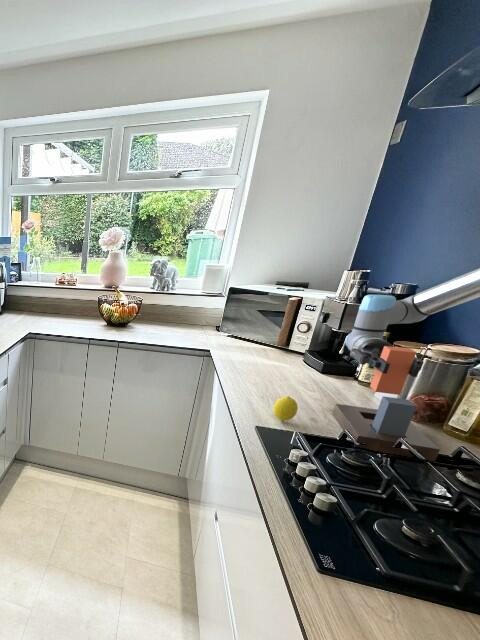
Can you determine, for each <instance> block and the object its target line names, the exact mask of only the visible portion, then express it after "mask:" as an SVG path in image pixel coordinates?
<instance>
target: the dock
mask: <svg viewBox="0 0 480 640" xmlns="http://www.w3.org/2000/svg"><path fill="white" fill-rule="evenodd" d="M377 411H378V408H377V409H375V408H371V407H370V408H369V407H364V406H363V407H362V406H356V405H355V406H354V405H347V404H342V403H334V407H333V409H332V413H331V415H332V416H333V417H334V419H335V421H336V422H337V424H338V425H339V426H340V428H341V430H342V431H343V430H348V431H349V432H350V434H352V436H353V437H354V439H355V440H356V442H357V443H365V444H367V445H355V444H354V446H353V448H354V447H360V448H366V449H369V450H368V451H371V450H373V451H372V452H377V451H378V452H377V453H382V452H383V453H382V454H388V453H389V454H388V455H393V454H395V455H394V456H399V455H401V456H400V457H404V456H407V457H406V458H410V457H413V455H412V454H411V453H410V452H409V451H408V450H407V449H402V448H395V447H393V446H394V445H395V443H396V442H397V440H398V439H399V438H401V437H399V436H393V435H387V434H381V433H376V432H375V431H374V429H373V428H372V424H373V422H374V419H375V416H376V413H377ZM402 438H403V439H404V440H405V441H407V442H408V443H409V444H410V445H411V446H412V447H413V448H414V449H416V450H417V452H418V453H420V454H421V455H422V456H423V457H425V458H426V459H427V460H429V461H428V462H433V463H435V462H436V460H437V458H438V456H439V453H440V451H441V449H440V448H439V446H437V445H436V444H435V443H434V442H433V441H432V440H431V439H430V438H429V437H428V436H426V434H424V433H423V431H421V430H420V429H419V428H418V427H417V425H415V424H414V423H413V421H410V424H409V426H408V429H407V431H406V434H405V436H404V437H402ZM360 448H359V449H360Z"/></svg>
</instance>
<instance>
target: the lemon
mask: <svg viewBox="0 0 480 640" xmlns="http://www.w3.org/2000/svg"><path fill="white" fill-rule="evenodd" d="M272 408H273V409H272V412H273V415H274V416H275V418H277V419H278V420H279V421H280V422H285V421H289V420H292V419H293V418H294V417H295V416H296V415H297V413H298V403H297V401H296V400H295V399H294V398H292V397H291V396H289V395H287V396H283V397H280V398H278V399H277V400H276V401H275V403H274V405H273V407H272Z"/></svg>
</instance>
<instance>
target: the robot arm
mask: <svg viewBox="0 0 480 640" xmlns="http://www.w3.org/2000/svg"><path fill="white" fill-rule="evenodd" d="M478 298H480V267H479V268H476V269H474V270H471V271H469V272H466V273H464V274H461V275H459V276H457V277H454V278H452V279H449V280H447V281H445V282H443V283H440V284H437V285H435V286H433V287H430V288H428V289H425V290H422V291H420V292H418V293H416V294H412V295H410V296H408V297H405V298H404V299H397V298H396V297H395V296H394V295H390V294H389V295H388V294H367V295H364V297H363V299H362V300H361V303H360V305H359V307H358V311H357V314H356V318H355V322H354V325H353V327H352V330H351V332H350V333H349V334H348V335H347V336H346V338H345V346H346V347H347V349H348V350H349V352H350V353H349V357H350V358H353V359H354V360H355V361H356V362H357V363H358V364H359V365H362V366H364V365H366V364H368V366H367V368H368V369H370V370H371V369H372V370H374V369H376V368H377V369H378V370H379V371H380V372H382V373H385V374H387V371H388V368H389V365H390V364H389V363H388V362H387V361H385V360H384V359H382V358H380V356H381V354H382V351H383V348H384V346H389V347H394V346H393V345H392V344H391V343H390V342H388V341H387V340H385V339H384V335H385V332H386V330H387V327H388V325H396V324H397V325H398V324H414V323H419V322H421V321H423V320H425V319H426V318H427V317H429V316H431V315H433V314H436V313H439V312H441V311H444V310H447V309H450V308H453V307H455V306H459V305H461V304H464V303H467V302H469V301H472V300H476V299H478ZM424 363H425V362H424V360H421V359H420V358H418V357H416V356H415V358H414V360H413V363H412V365H411V368H410V370H409V373H408V375H409V376H411V377H413V378H417V377H418V375H419V372H420V371H421V370H422V368H423V365H424Z"/></svg>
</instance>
